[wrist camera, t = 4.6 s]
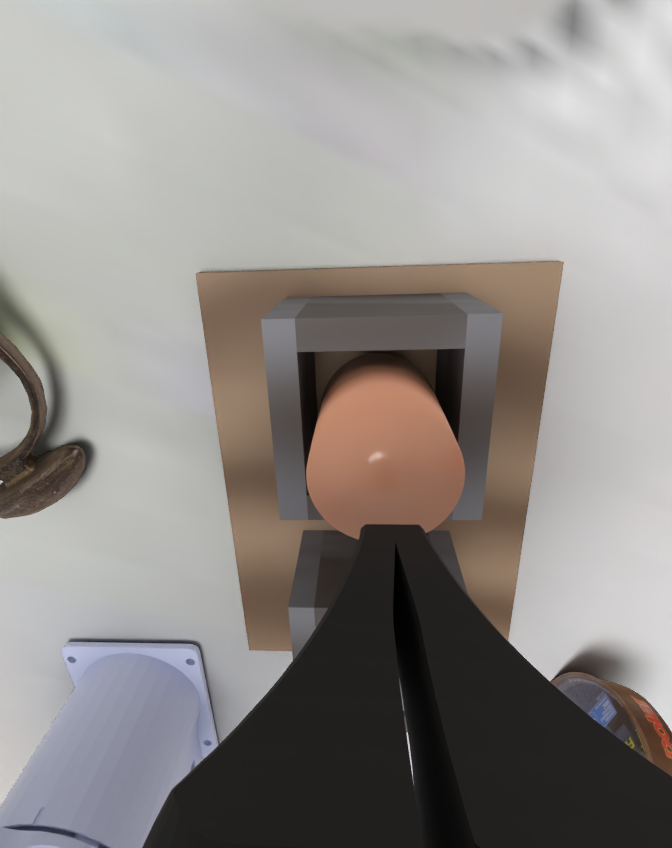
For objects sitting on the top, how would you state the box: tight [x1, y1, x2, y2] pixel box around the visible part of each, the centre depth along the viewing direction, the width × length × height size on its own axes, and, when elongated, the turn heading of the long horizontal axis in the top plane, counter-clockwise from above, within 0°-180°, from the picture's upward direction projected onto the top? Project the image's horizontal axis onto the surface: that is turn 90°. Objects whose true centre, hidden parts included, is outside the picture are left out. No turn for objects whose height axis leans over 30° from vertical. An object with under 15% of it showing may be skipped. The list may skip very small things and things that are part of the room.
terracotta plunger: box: [306, 353, 465, 540], centre depth 14 cm, size 4×4×5 cm
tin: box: [551, 672, 672, 776], centre depth 24 cm, size 15×3×8 cm, turn 161°
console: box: [196, 261, 564, 732], centre depth 19 cm, size 20×14×6 cm
